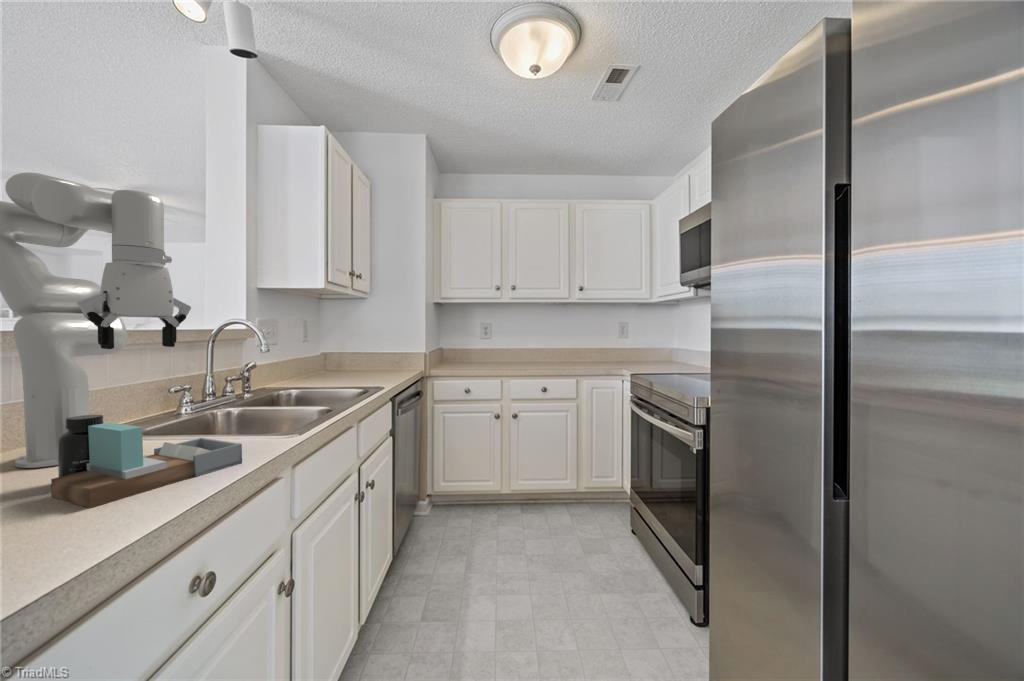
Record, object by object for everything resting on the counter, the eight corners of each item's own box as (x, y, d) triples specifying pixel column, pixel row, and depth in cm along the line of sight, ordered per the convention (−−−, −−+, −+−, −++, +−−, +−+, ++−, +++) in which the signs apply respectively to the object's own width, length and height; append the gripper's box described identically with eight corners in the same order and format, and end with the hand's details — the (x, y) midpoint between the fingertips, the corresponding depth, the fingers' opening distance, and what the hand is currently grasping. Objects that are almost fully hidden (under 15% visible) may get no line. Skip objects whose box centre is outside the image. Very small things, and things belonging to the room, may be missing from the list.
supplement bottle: (78, 489, 74) (75, 421, 73) (48, 487, 75) (45, 420, 75) (121, 476, 80) (119, 413, 80) (93, 474, 82) (91, 412, 82)
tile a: (158, 454, 84) (164, 442, 85) (182, 459, 88) (188, 448, 89) (173, 457, 82) (179, 444, 83) (198, 462, 86) (203, 450, 87)
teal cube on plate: (86, 470, 75) (85, 425, 75) (128, 460, 80) (126, 418, 80) (125, 479, 70) (124, 431, 70) (166, 468, 76) (165, 423, 76)
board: (51, 496, 71) (51, 479, 71) (156, 468, 85) (155, 454, 84) (90, 508, 66) (89, 489, 66) (194, 476, 80) (193, 460, 80)
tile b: (175, 457, 82) (182, 444, 83) (200, 463, 86) (206, 450, 87) (192, 460, 80) (198, 447, 81) (216, 466, 84) (222, 453, 85)
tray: (154, 468, 85) (154, 448, 85) (202, 455, 93) (201, 437, 93) (195, 476, 80) (195, 455, 80) (242, 462, 88) (241, 443, 88)
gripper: (179, 265, 90) (179, 345, 91) (67, 251, 75) (69, 348, 75) (199, 264, 87) (199, 346, 88) (88, 250, 72) (89, 350, 72)
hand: (139, 347), depth 82 cm, fingers open, 9 cm apart
